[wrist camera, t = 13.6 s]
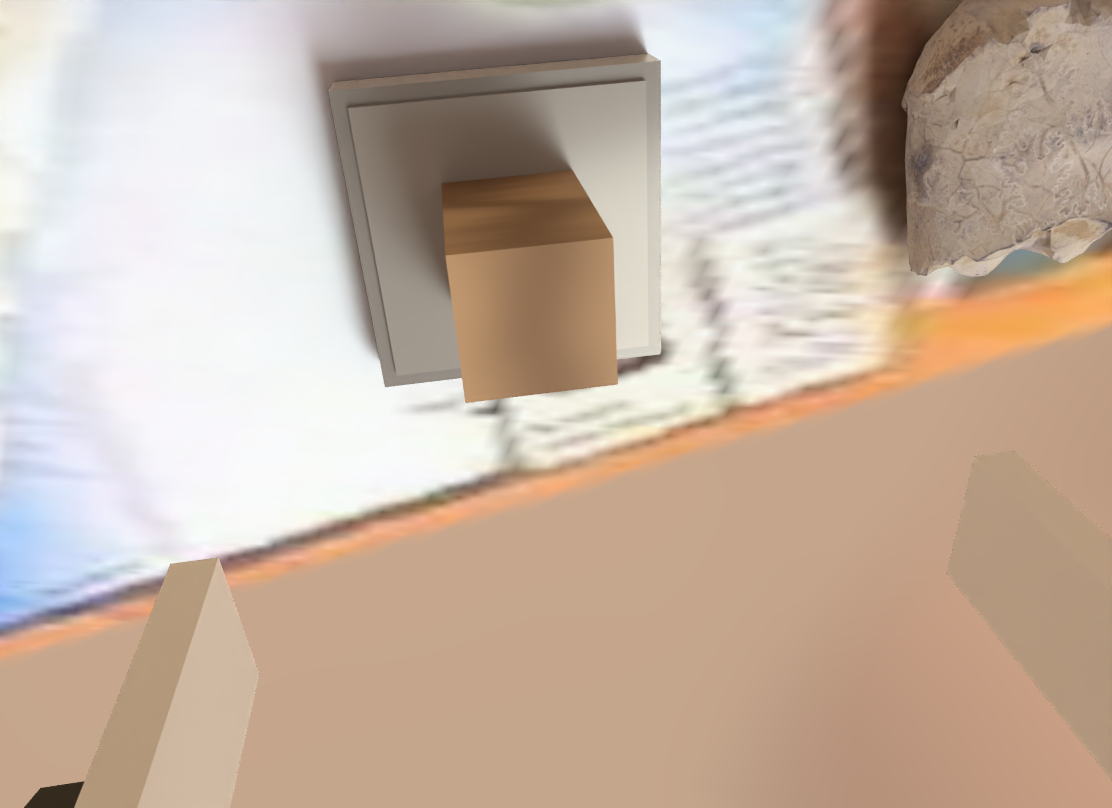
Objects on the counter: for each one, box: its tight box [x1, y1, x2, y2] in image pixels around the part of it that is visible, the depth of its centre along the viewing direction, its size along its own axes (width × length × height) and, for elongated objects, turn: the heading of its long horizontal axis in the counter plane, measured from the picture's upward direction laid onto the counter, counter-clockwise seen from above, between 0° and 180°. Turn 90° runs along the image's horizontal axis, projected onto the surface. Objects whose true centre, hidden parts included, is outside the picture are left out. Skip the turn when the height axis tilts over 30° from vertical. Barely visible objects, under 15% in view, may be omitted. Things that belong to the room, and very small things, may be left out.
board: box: [328, 54, 661, 387], centre depth 34 cm, size 12×12×2 cm
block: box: [441, 170, 618, 403], centre depth 29 cm, size 5×5×8 cm
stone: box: [901, 0, 1112, 277], centre depth 32 cm, size 8×12×7 cm, turn 13°
